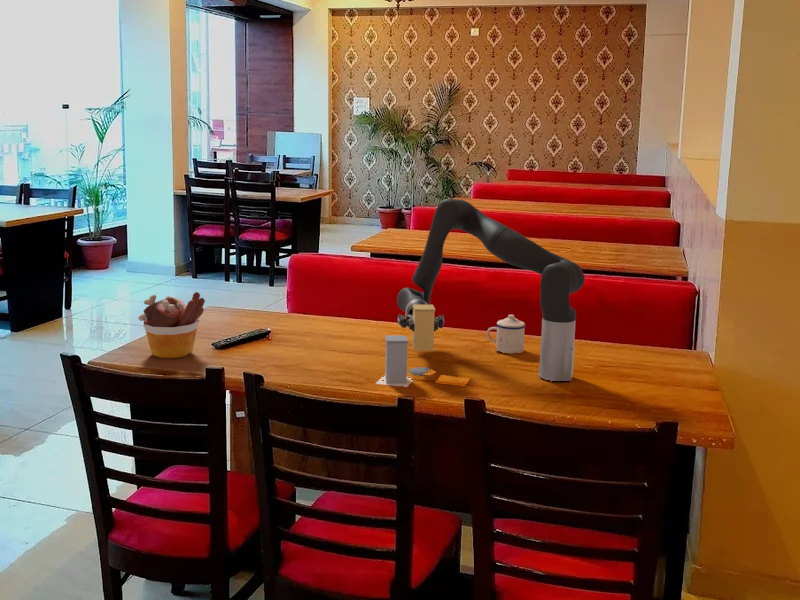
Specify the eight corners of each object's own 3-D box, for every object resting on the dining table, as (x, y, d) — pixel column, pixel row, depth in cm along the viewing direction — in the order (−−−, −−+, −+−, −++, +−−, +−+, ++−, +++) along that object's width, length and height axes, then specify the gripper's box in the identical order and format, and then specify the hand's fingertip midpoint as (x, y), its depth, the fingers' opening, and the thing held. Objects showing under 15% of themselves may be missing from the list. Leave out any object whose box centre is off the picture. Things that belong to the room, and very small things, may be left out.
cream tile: (415, 378, 232) (415, 377, 232) (407, 388, 224) (407, 387, 224) (384, 375, 235) (384, 374, 234) (375, 384, 226) (375, 383, 226)
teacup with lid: (525, 348, 266) (527, 313, 263) (522, 355, 257) (524, 319, 255) (488, 345, 269) (489, 310, 266) (484, 352, 260) (485, 316, 257)
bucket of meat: (128, 357, 246) (125, 292, 242) (161, 344, 262) (158, 282, 257) (187, 365, 240) (185, 298, 236) (216, 350, 255) (215, 287, 251)
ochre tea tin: (431, 345, 239) (432, 304, 237) (433, 351, 234) (435, 309, 231) (411, 345, 239) (412, 304, 236) (413, 351, 233) (414, 309, 231)
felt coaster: (439, 370, 240) (439, 368, 240) (432, 378, 233) (432, 376, 233) (412, 367, 243) (412, 366, 242) (405, 375, 235) (405, 373, 235)
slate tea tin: (405, 377, 232) (406, 335, 230) (407, 383, 226) (408, 340, 224) (384, 377, 232) (385, 335, 229) (385, 383, 226) (386, 340, 223)
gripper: (395, 301, 247) (399, 314, 231) (442, 301, 249) (450, 315, 232) (394, 325, 249) (398, 340, 233) (441, 325, 250) (449, 340, 234)
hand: (424, 327), depth 232 cm, fingers closed on ochre tea tin, 5 cm apart
